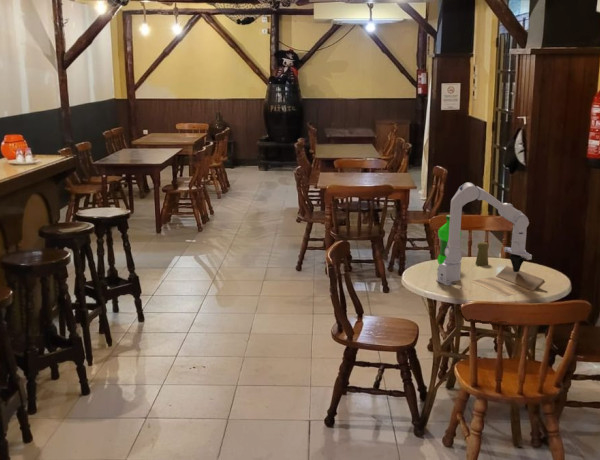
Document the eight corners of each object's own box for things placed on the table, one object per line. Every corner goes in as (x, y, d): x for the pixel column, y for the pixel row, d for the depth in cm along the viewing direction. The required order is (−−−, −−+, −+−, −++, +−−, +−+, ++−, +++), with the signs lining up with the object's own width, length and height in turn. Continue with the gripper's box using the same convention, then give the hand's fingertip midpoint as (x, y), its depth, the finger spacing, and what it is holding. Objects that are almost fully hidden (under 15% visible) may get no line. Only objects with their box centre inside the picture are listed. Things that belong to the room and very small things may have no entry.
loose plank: (534, 293, 278) (532, 290, 277) (497, 278, 297) (496, 275, 297) (545, 282, 279) (543, 279, 279) (507, 268, 299) (506, 265, 298)
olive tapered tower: (486, 262, 323) (487, 240, 320) (490, 266, 317) (491, 243, 314) (473, 262, 322) (475, 240, 320) (477, 266, 317) (479, 244, 314)
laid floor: (505, 299, 271) (505, 296, 271) (469, 284, 291) (469, 280, 290) (531, 294, 278) (531, 291, 277) (494, 279, 297) (495, 276, 296)
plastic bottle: (444, 263, 322) (447, 212, 316) (463, 267, 314) (466, 216, 308) (432, 267, 315) (434, 215, 309) (451, 272, 308) (454, 219, 302)
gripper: (538, 244, 282) (535, 274, 286) (513, 236, 295) (511, 265, 298) (525, 246, 279) (523, 276, 283) (501, 238, 292) (499, 267, 295)
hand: (516, 271), depth 290 cm, fingers closed
